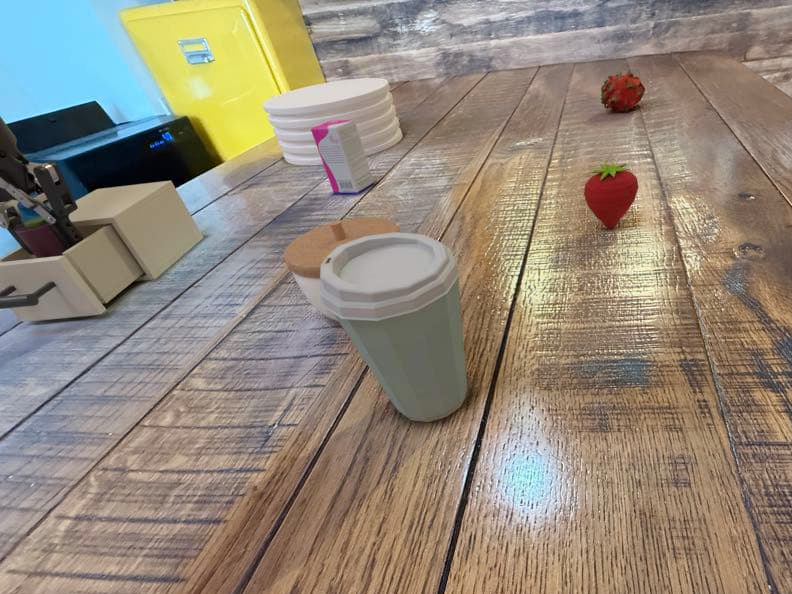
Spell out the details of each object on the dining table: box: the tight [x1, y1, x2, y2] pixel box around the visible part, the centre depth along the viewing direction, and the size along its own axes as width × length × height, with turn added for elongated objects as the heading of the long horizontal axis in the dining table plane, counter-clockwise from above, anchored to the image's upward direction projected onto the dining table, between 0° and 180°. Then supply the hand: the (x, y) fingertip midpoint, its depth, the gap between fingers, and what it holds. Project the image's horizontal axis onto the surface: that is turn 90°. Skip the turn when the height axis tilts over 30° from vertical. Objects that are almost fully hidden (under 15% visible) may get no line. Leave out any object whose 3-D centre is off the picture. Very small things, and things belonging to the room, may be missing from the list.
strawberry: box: [583, 154, 639, 229], centre depth 69 cm, size 6×8×10 cm
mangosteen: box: [15, 216, 68, 258], centre depth 67 cm, size 5×5×4 cm
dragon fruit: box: [600, 71, 646, 114], centre depth 117 cm, size 8×8×12 cm
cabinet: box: [69, 180, 204, 282], centre depth 78 cm, size 15×13×10 cm
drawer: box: [0, 223, 144, 323], centre depth 68 cm, size 18×11×8 cm, turn 0°
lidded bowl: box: [283, 216, 401, 322], centre depth 58 cm, size 13×13×11 cm
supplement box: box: [311, 120, 375, 196], centre depth 93 cm, size 6×6×12 cm
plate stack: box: [262, 77, 403, 166], centre depth 119 cm, size 28×28×12 cm
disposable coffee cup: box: [320, 232, 469, 423], centre depth 43 cm, size 11×11×15 cm
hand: (57, 249), depth 68 cm, fingers closed on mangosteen, 5 cm apart
